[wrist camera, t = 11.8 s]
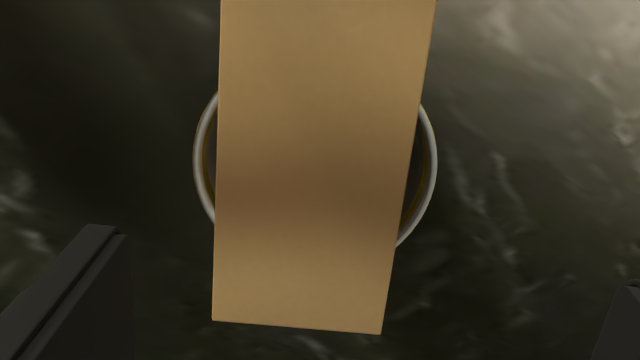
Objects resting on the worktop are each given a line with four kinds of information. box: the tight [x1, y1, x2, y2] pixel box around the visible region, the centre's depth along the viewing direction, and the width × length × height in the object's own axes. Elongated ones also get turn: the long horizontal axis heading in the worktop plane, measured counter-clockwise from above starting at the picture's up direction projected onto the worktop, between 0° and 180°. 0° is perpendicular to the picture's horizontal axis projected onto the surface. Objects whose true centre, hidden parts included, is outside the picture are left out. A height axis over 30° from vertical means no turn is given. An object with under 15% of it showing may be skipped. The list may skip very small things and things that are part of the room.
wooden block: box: [212, 0, 437, 335], centre depth 20 cm, size 13×6×4 cm, turn 174°
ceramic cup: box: [193, 90, 437, 247], centre depth 26 cm, size 13×10×10 cm
